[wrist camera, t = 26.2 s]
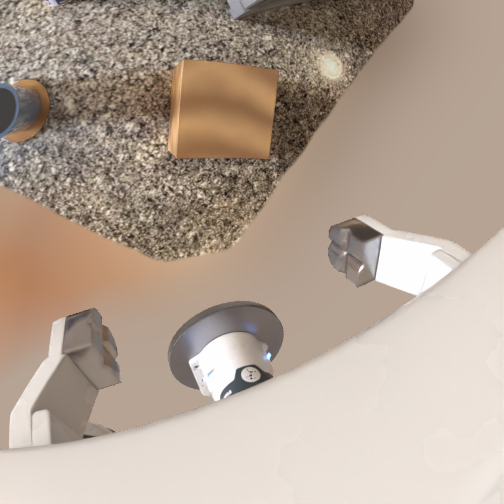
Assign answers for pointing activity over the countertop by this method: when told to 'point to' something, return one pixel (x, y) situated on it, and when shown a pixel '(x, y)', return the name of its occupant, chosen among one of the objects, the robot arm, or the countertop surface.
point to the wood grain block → (221, 110)
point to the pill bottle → (57, 2)
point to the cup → (18, 108)
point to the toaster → (256, 6)
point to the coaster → (42, 116)
